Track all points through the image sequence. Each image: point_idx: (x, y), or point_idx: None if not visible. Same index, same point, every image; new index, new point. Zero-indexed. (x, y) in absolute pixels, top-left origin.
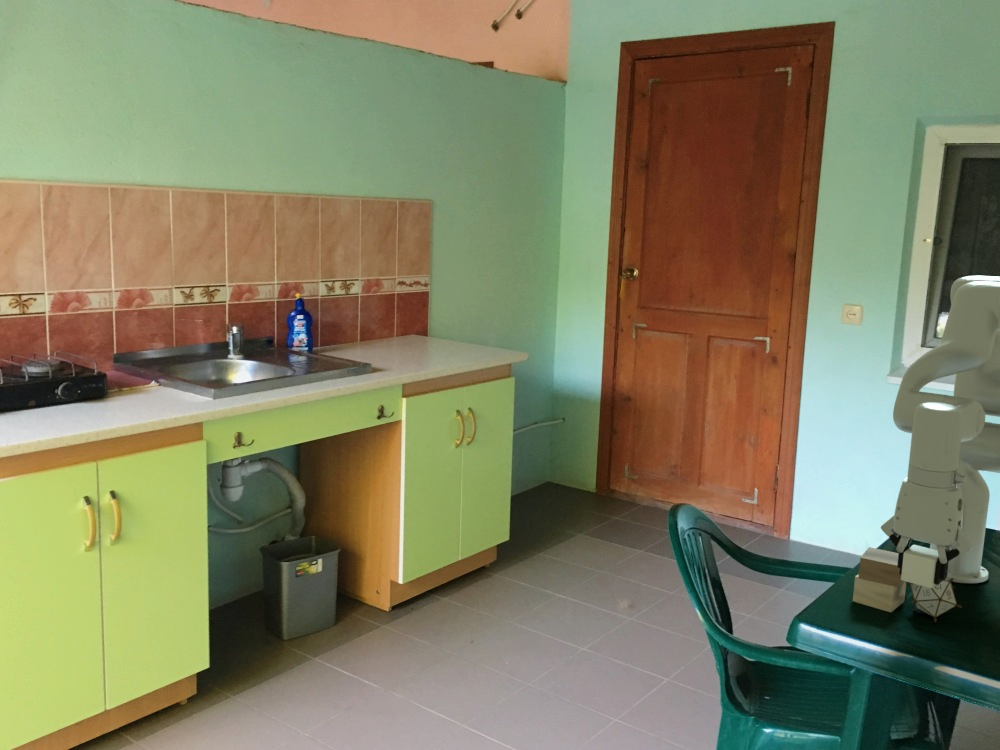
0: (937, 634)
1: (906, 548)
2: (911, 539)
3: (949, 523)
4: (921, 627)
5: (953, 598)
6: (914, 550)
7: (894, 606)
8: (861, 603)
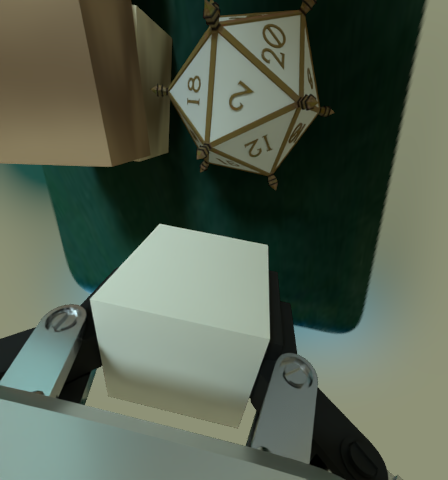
0: (272, 217)
1: (93, 361)
2: (63, 377)
3: None
4: (239, 199)
5: (310, 117)
6: (131, 368)
7: (165, 130)
8: None
